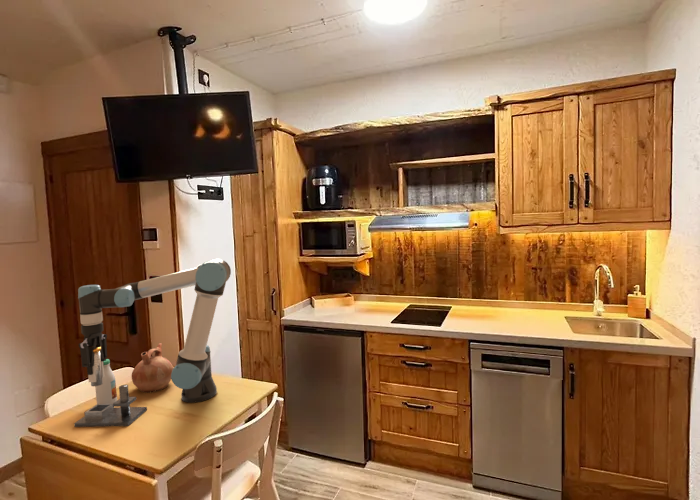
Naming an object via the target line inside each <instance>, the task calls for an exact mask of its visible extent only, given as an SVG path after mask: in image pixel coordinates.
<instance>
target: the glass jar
mask: <svg viewBox="0 0 700 500" xmlns="http://www.w3.org/2000/svg"><path fill="white" fill-rule="evenodd" d="M93 351H94V365H93V366H95V369H96V382H90V386H91V387H95V386H99V385H101V384H103V380H102V368H101V356H100V351H101V347H96V348H95V349H94V350H93Z"/></svg>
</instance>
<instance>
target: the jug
mask: <svg viewBox="0 0 700 500" xmlns="http://www.w3.org/2000/svg"><path fill="white" fill-rule="evenodd" d="M162 346H163V344H162V342H161V343H160V342H159V343H158V344H157V346H156V347H155V348H150V349H149V350H148V351H144V352H141V354H140V356H141V359H142V360H141V361H139V362H138V363H137V364H136V365H135V367H134V368H133V370H132V373H131V380H132V383H133V385H134V386H135V388H137V390H139V391H141V392H143V393H145V394H146V393H147V394H148V393H149V394H150V392H151V393H155V392H159V391H160V392H161V391H162V390H165V389H166V388H167V387H168V385H169V384H170V382H171V381H172V379H171V373H172V370H173V368H174V366H173V364H172V363H171V361H170V360H169V359H167V357H163V355H162V354H163V353H162V352H163V351H162ZM153 354H154V355H153Z"/></svg>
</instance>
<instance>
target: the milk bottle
mask: <svg viewBox="0 0 700 500" xmlns="http://www.w3.org/2000/svg"><path fill="white" fill-rule="evenodd" d="M105 359H106V361H103V362H104V377H102V380H103V384H101V385H99V386H94V387H95V398H96V399H95V400H96V404H113V403H115V402H116V401H117V400H118V394H117V384H116V383H117V382H116V375H115V372H113V370H112V368H111V365H110V364H111V360H110V359H109V358H105Z"/></svg>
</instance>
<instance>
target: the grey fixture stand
mask: <svg viewBox="0 0 700 500" xmlns="http://www.w3.org/2000/svg"><path fill="white" fill-rule="evenodd" d="M118 390H119V392H118V393H119V399H117V401H116V402H115V403H113V404H97V403H96V404H95V405H93V406H92V407H91V408H89V409H87V410H86V411H85V412H84V416H83V417H81V418H79V419H78V420H77V421H76V422H74V423H73V425H74V428H90V427H91V428H92V427H93V428H95V427H97V428H98V427H102V428H103V427H129V426H130V425H132V424H133V423H134V422H135V421H136V420H137V419H138V418H140V417H141V416H142V415H143V414H144V413H146V412H147V411H148V407H147V406H131V404H132V403H134V402H135V401H136V400H137V396H130V394H129V393H130V392H129V384H122V385H119V386H118Z"/></svg>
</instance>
